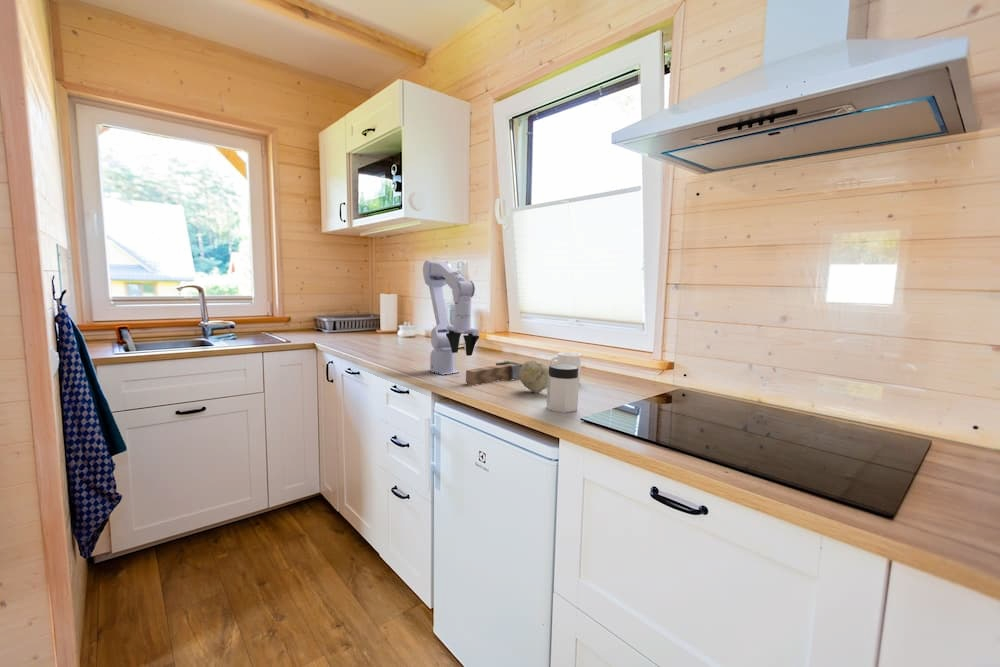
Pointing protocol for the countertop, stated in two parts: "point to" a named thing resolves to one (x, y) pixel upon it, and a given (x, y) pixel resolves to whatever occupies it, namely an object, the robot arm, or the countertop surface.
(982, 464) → the countertop surface
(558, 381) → the jar
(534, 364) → the decorative item
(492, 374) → the rail
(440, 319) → the robot arm
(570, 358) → the mug
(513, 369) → the bracket
